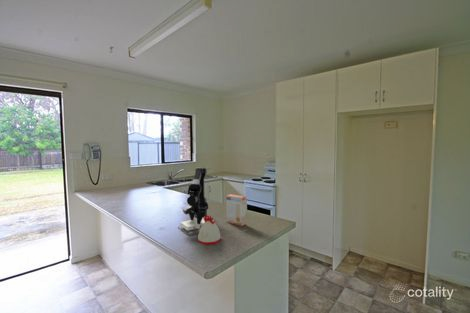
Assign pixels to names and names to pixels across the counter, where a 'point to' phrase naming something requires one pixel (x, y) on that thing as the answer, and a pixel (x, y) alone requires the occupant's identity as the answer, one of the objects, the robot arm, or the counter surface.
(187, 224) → the rocker
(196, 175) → the robot arm
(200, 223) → the block
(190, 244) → the counter surface
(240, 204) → the translucent upright frame
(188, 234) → the switch base
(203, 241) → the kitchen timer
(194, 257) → the counter surface
